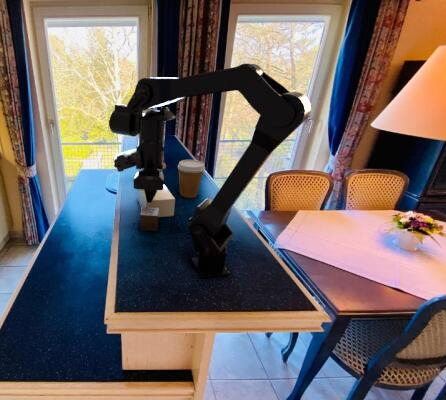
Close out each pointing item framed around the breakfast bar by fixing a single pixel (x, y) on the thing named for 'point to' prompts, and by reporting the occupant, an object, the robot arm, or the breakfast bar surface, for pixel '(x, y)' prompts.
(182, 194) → the disposable coffee cup
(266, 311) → the breakfast bar surface
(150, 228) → the brown cube
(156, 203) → the white box
